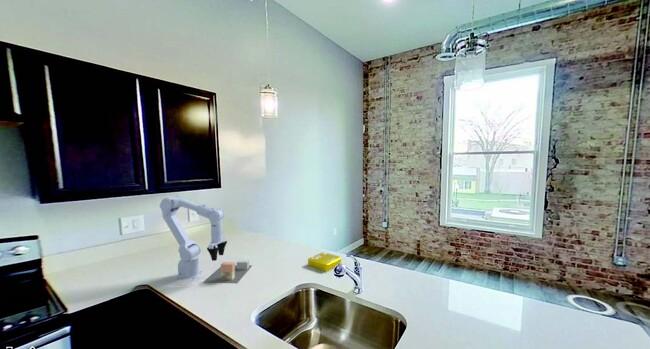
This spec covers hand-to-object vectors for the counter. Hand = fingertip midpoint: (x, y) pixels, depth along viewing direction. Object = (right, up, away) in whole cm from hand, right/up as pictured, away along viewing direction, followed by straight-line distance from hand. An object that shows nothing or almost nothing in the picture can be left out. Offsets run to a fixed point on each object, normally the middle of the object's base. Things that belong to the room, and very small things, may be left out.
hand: (217, 257), depth 137 cm
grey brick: (+11, -9, +9) cm, 16 cm away
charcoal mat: (+5, -10, +2) cm, 11 cm away
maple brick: (+7, -10, -4) cm, 12 cm away
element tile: (+57, -9, +14) cm, 59 cm away
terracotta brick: (+7, -6, -4) cm, 10 cm away
